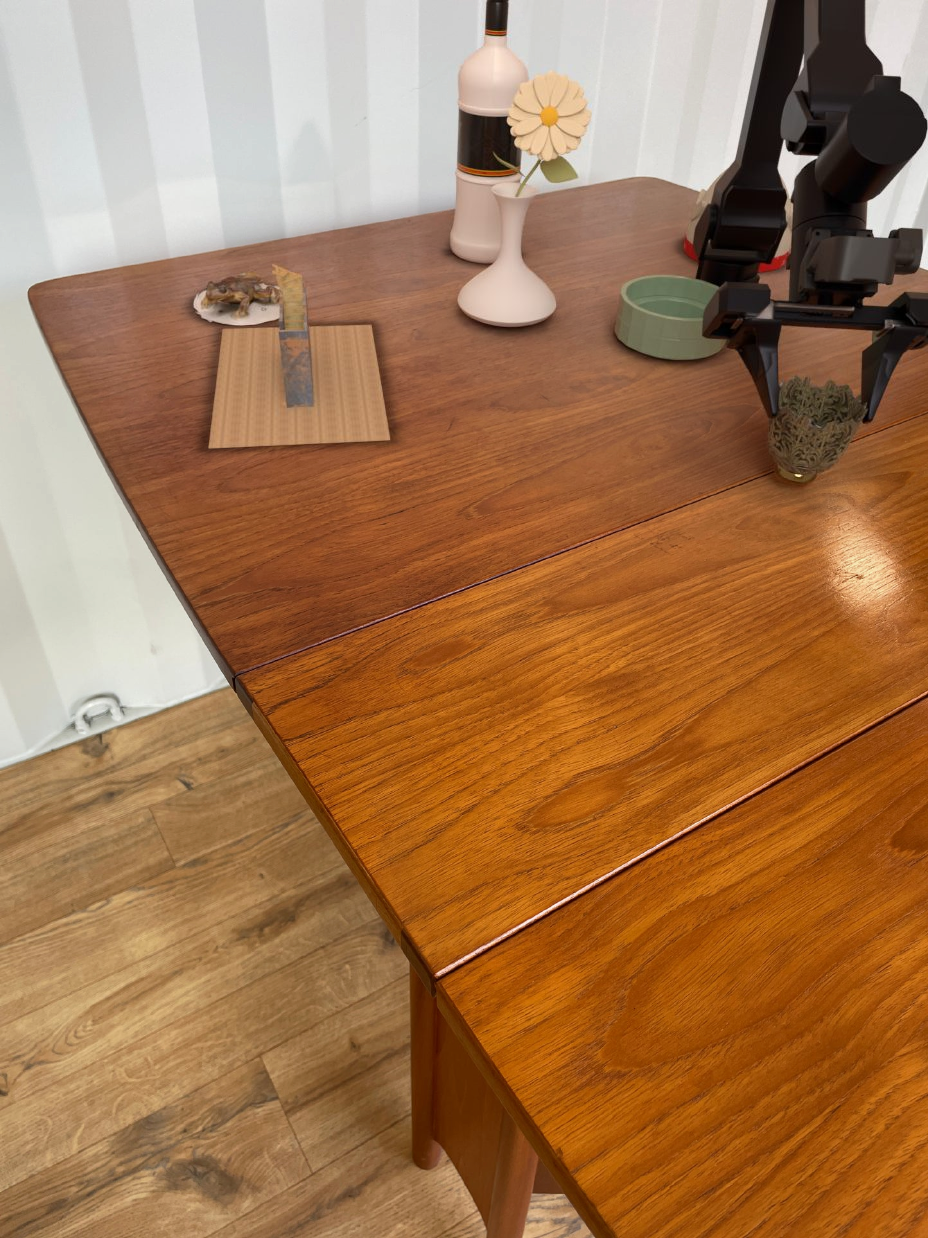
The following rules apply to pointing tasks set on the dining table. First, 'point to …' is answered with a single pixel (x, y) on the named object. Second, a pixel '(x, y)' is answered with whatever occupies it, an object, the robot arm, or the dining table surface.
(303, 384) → the ruin model on sheet
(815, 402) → the cup
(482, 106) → the vodka
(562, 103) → the flower in vase
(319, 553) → the dining table surface
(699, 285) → the bowl
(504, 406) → the dining table surface
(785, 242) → the kitchen timer
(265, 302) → the frog figurine
